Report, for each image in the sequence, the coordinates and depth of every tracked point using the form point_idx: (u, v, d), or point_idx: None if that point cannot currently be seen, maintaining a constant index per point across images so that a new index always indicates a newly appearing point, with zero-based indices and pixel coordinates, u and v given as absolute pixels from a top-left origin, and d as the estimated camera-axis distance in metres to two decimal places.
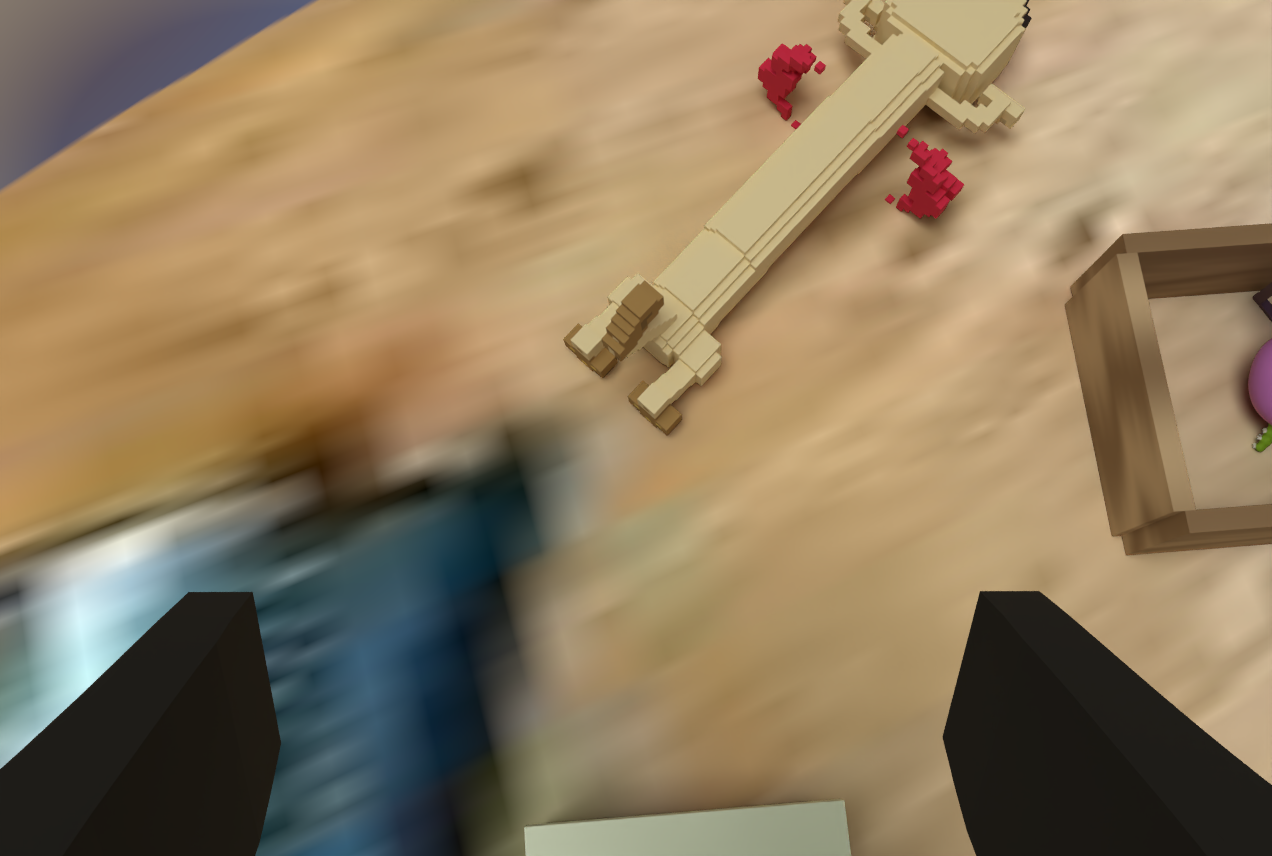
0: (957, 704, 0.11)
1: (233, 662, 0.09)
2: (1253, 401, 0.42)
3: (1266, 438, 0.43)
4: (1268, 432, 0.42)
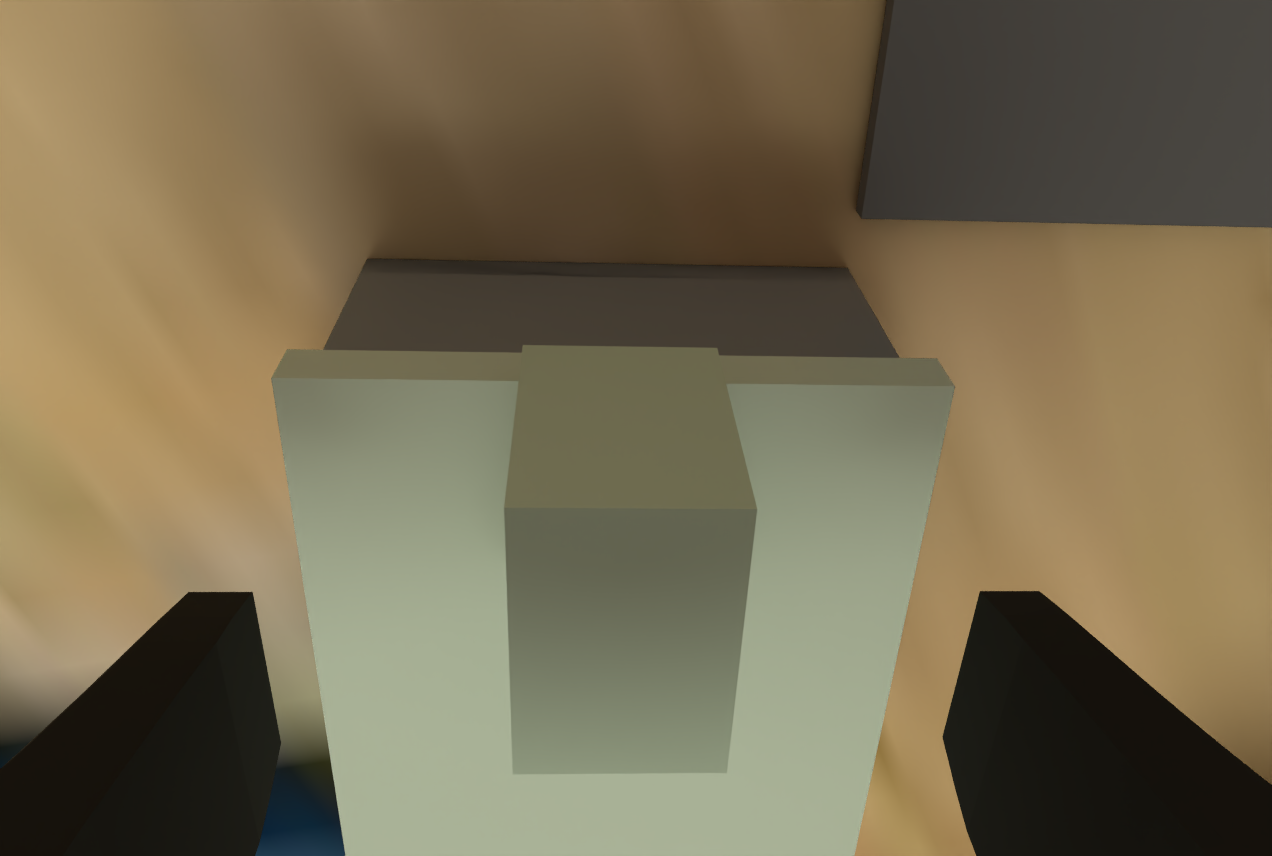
0: (957, 704, 0.11)
1: (233, 662, 0.09)
2: None
3: None
4: None
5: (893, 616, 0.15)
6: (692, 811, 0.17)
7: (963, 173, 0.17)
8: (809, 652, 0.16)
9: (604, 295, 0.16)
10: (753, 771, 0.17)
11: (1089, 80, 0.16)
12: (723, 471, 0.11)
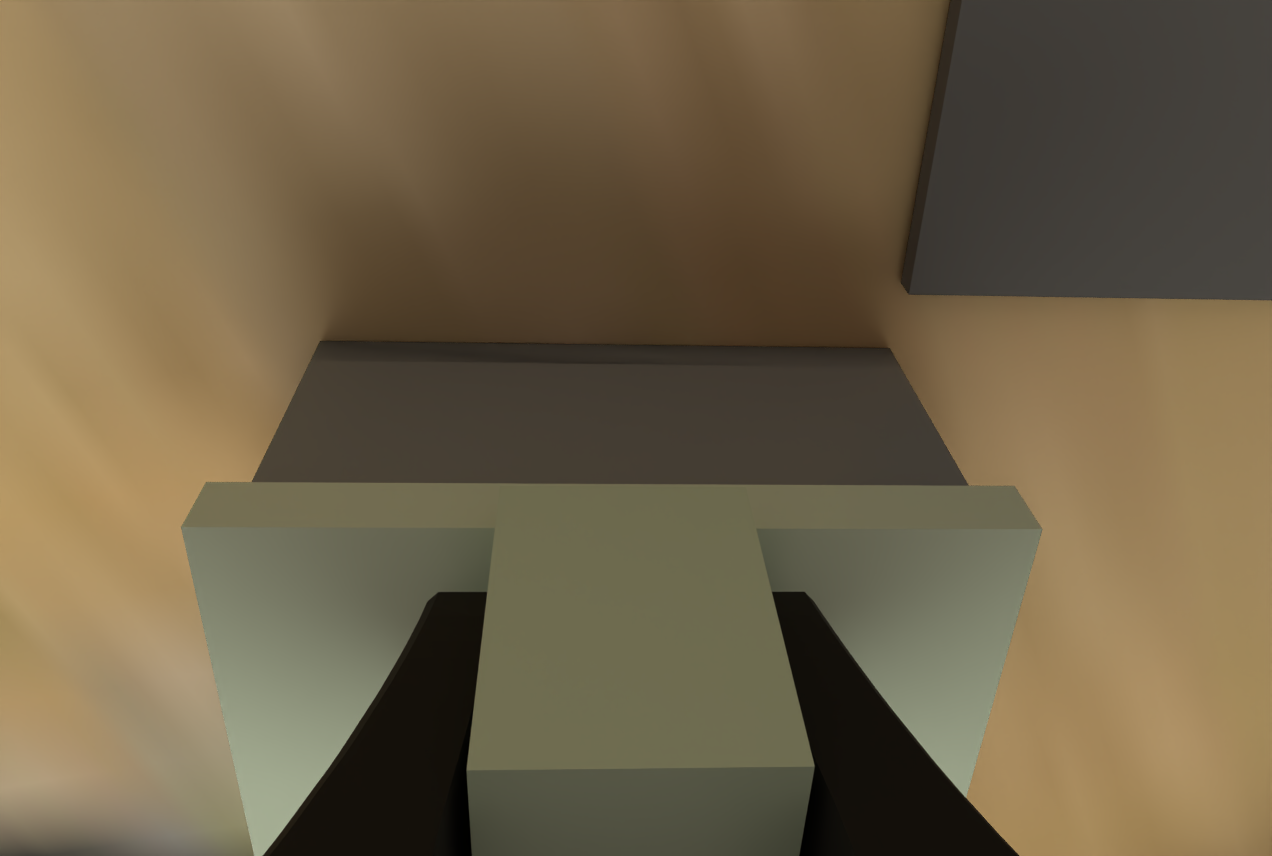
0: None
1: None
2: None
3: None
4: None
5: None
6: None
7: (1031, 242, 0.14)
8: None
9: (602, 390, 0.14)
10: None
11: (1186, 133, 0.13)
12: (764, 697, 0.08)
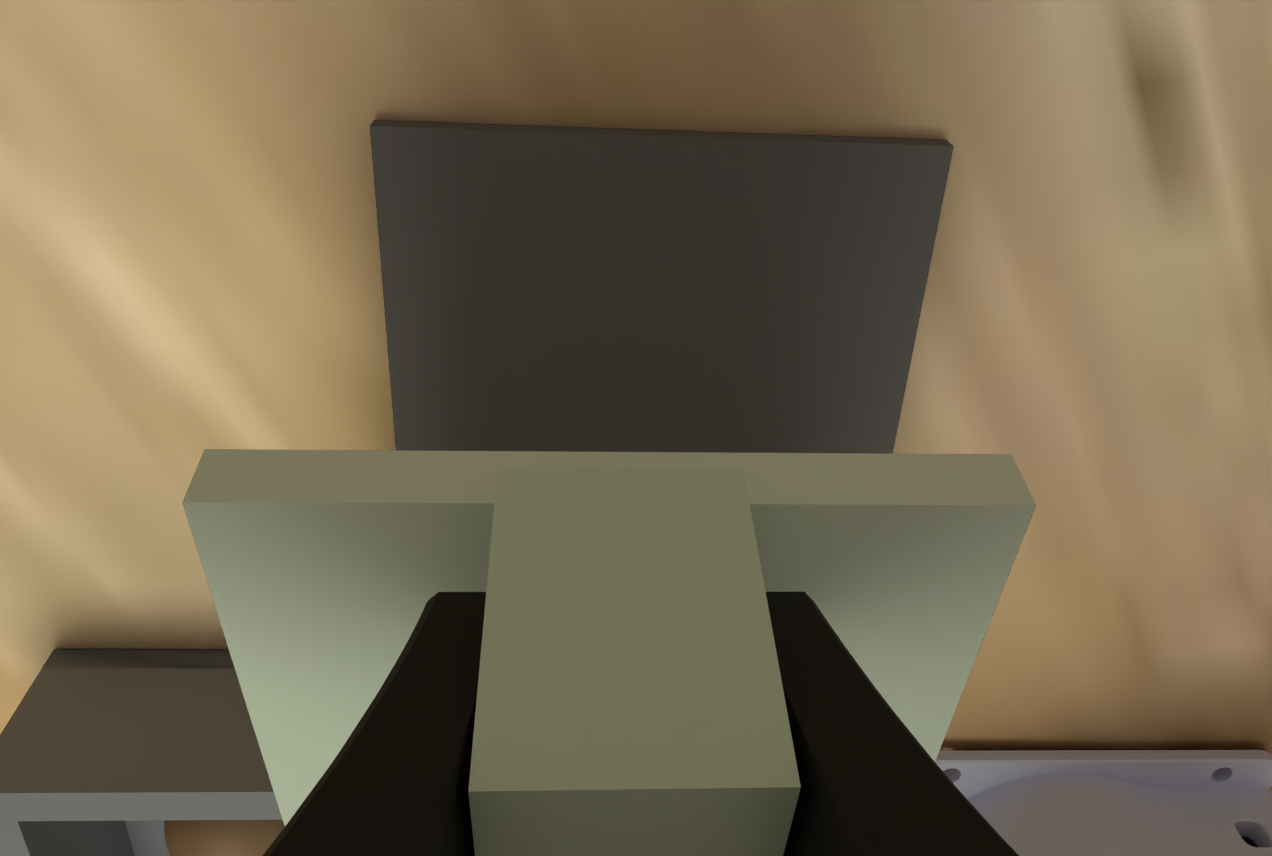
0: None
1: None
2: None
3: None
4: None
5: (935, 723, 0.13)
6: None
7: None
8: None
9: (212, 693, 0.23)
10: None
11: None
12: (755, 711, 0.08)
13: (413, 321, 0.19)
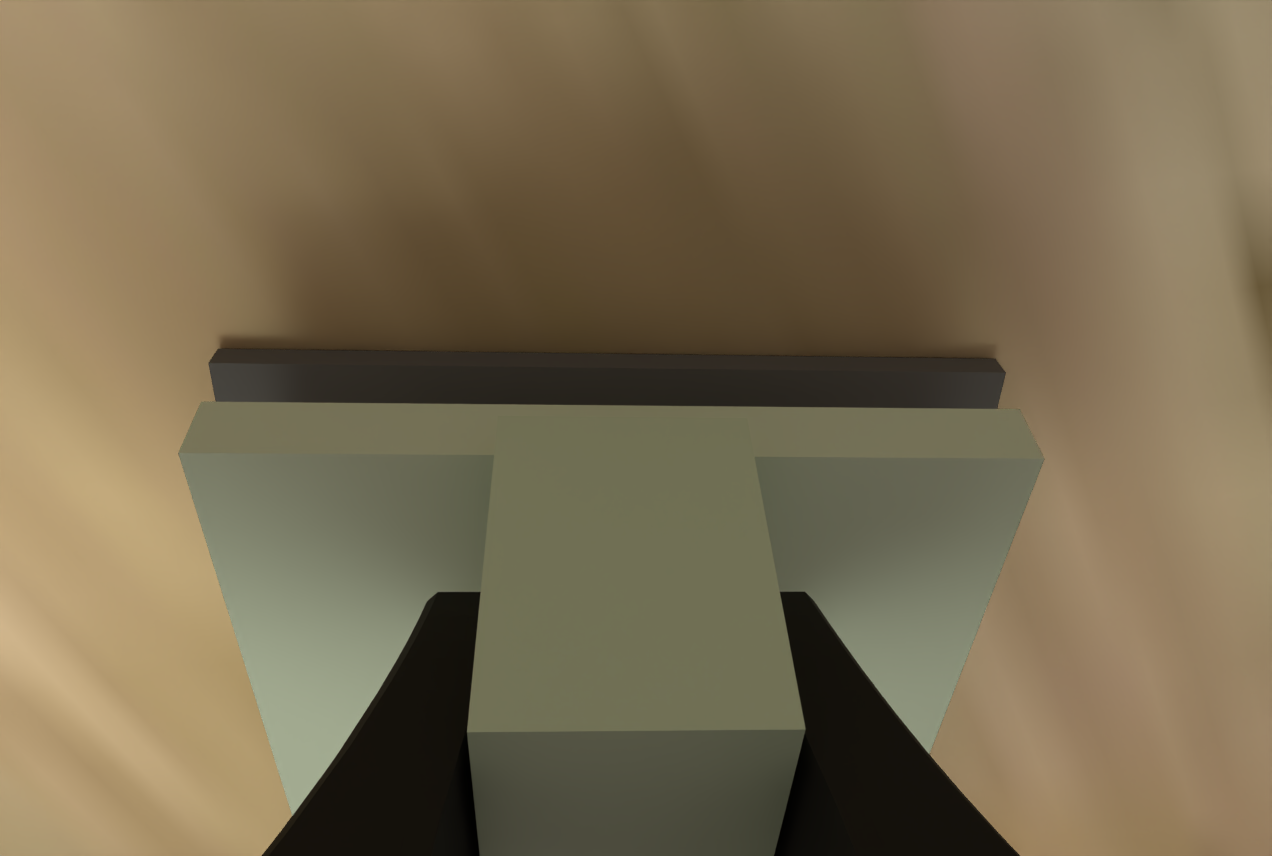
0: None
1: None
2: None
3: None
4: None
5: (940, 686, 0.13)
6: None
7: None
8: None
9: None
10: None
11: None
12: (759, 655, 0.08)
13: None
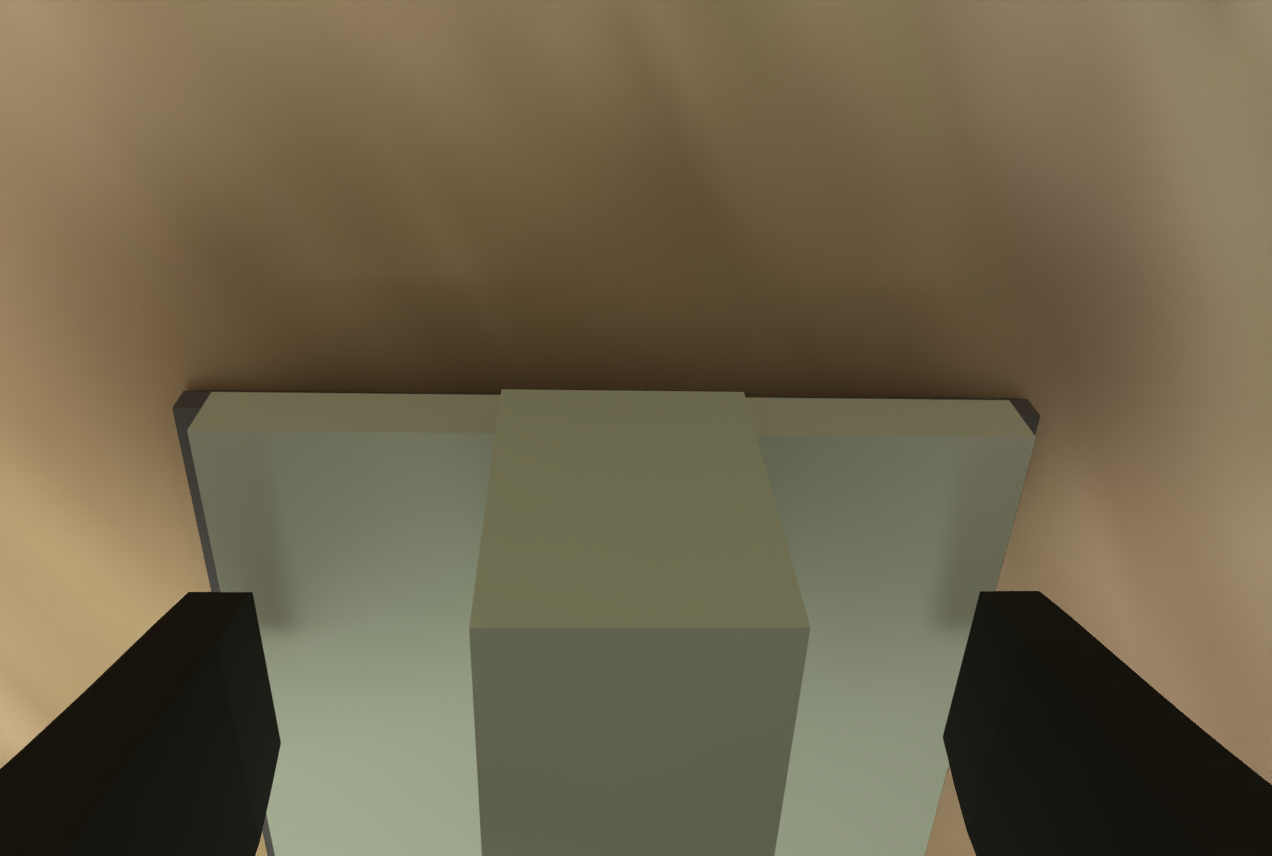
0: (957, 704, 0.11)
1: (233, 662, 0.09)
2: None
3: None
4: None
5: (949, 705, 0.13)
6: None
7: None
8: (848, 747, 0.13)
9: None
10: None
11: None
12: (761, 569, 0.08)
13: None
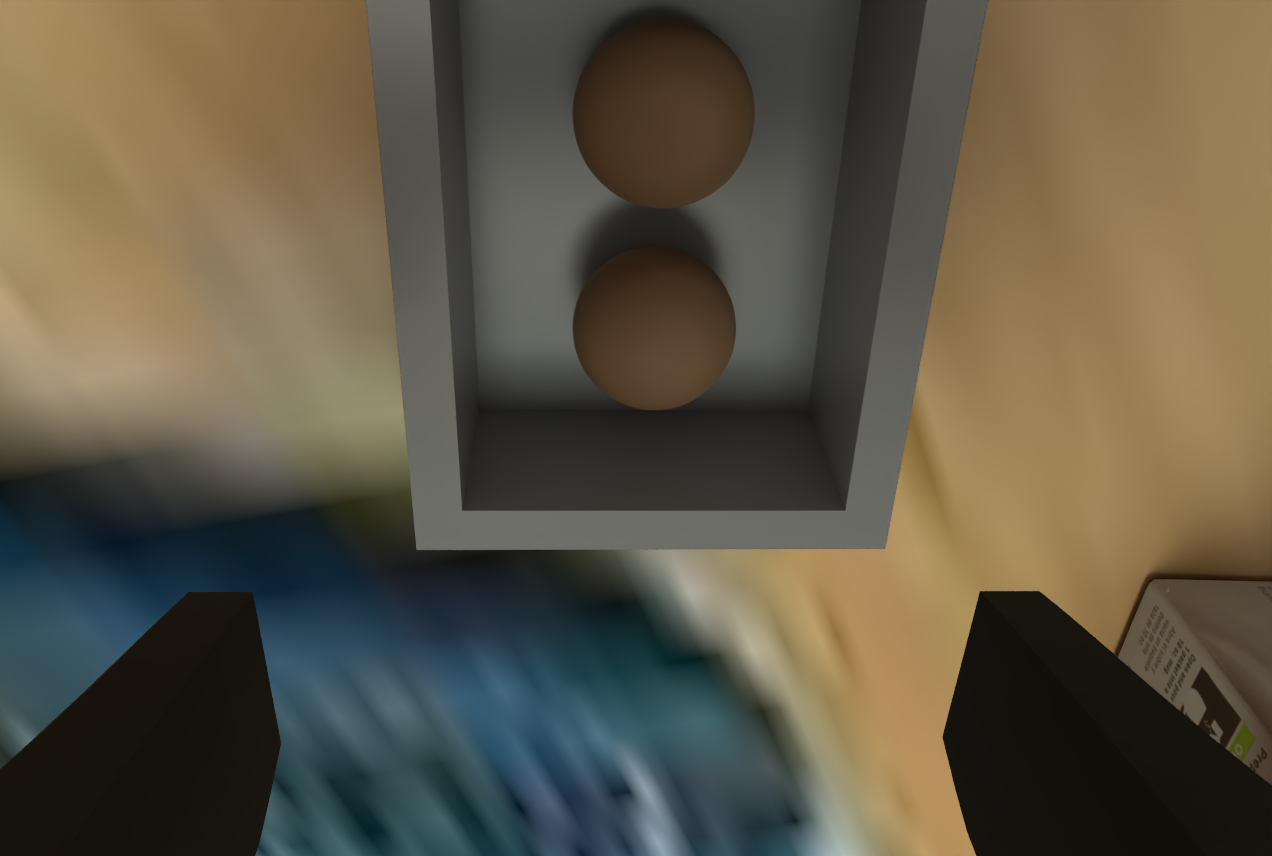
0: (957, 704, 0.11)
1: (233, 662, 0.09)
2: None
3: None
4: None
5: None
6: None
7: None
8: None
9: None
10: None
11: None
12: None
13: None
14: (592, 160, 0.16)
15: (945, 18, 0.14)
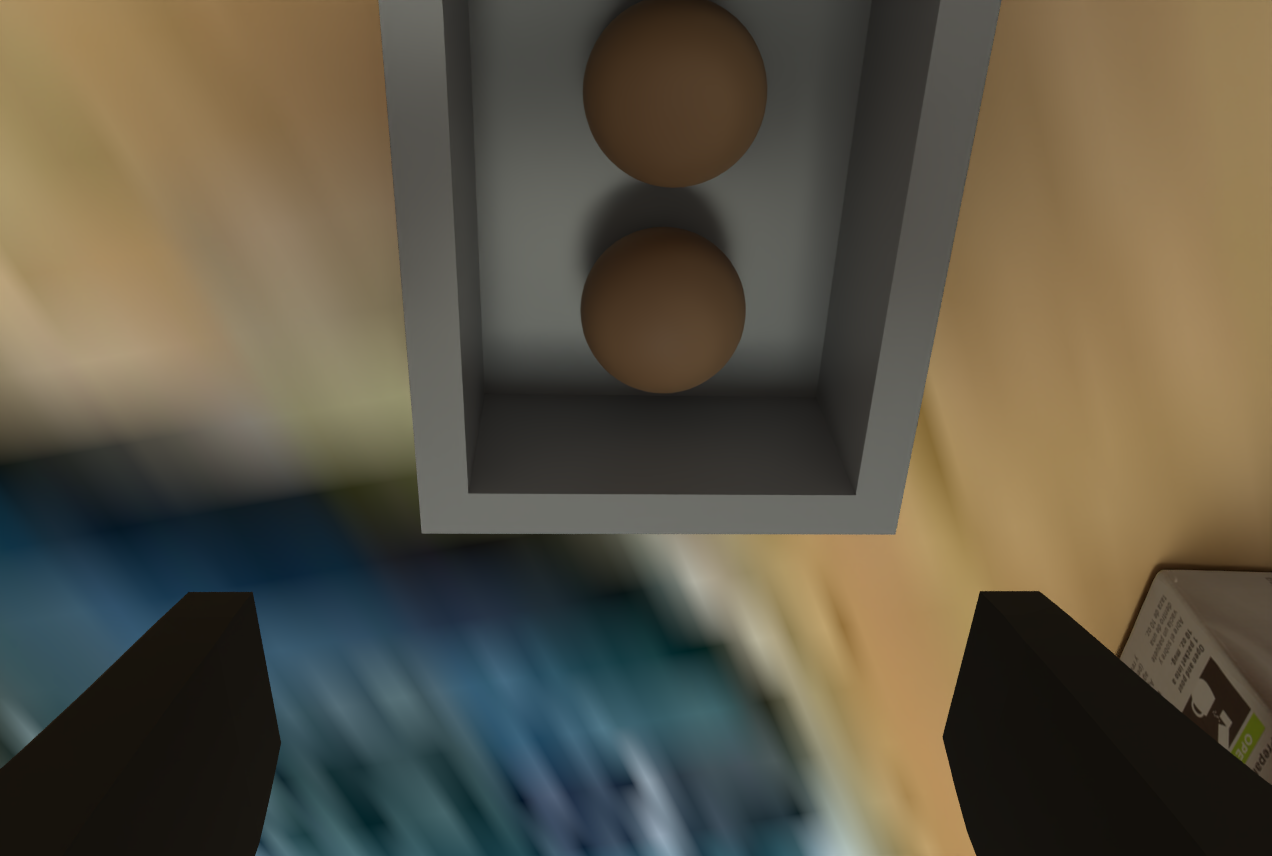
0: (957, 704, 0.11)
1: (234, 662, 0.09)
2: None
3: None
4: None
5: None
6: None
7: None
8: None
9: None
10: None
11: None
12: None
13: None
14: (602, 137, 0.16)
15: None
